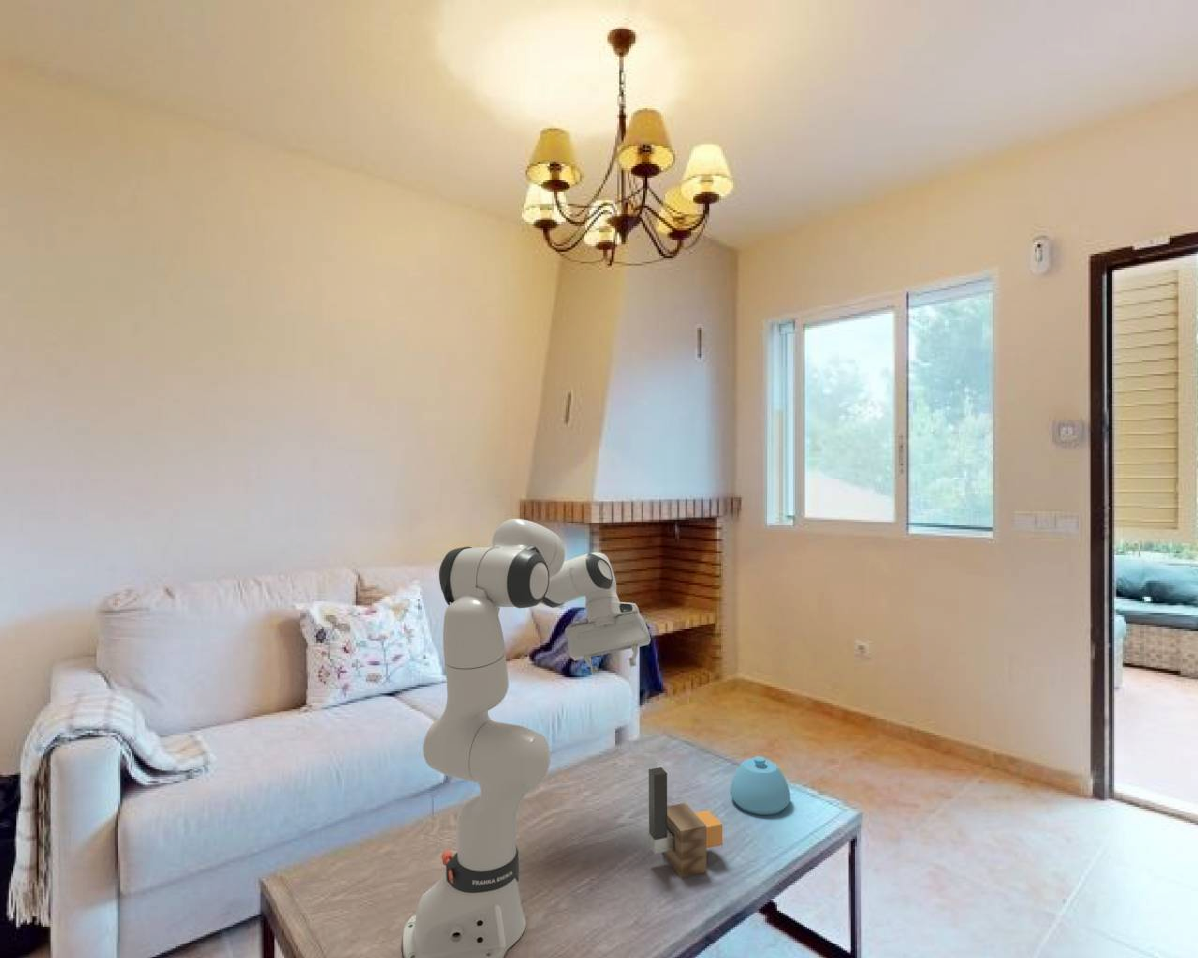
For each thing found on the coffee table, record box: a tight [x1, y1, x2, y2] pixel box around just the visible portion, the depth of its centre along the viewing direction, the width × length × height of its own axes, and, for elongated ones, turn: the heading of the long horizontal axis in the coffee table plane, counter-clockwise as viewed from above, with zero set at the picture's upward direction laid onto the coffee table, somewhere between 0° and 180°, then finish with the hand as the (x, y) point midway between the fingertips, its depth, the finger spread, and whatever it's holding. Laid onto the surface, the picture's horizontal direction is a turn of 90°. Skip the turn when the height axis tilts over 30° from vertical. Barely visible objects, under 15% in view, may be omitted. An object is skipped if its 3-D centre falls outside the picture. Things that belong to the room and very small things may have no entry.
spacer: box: [694, 809, 723, 849], centre depth 143 cm, size 4×6×5 cm, turn 19°
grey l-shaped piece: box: [648, 766, 675, 855], centre depth 141 cm, size 16×3×17 cm, turn 109°
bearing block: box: [661, 802, 707, 879], centre depth 141 cm, size 6×10×10 cm, turn 19°
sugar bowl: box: [729, 755, 791, 816], centre depth 166 cm, size 15×15×12 cm
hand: (614, 669), depth 153 cm, fingers open, 8 cm apart
